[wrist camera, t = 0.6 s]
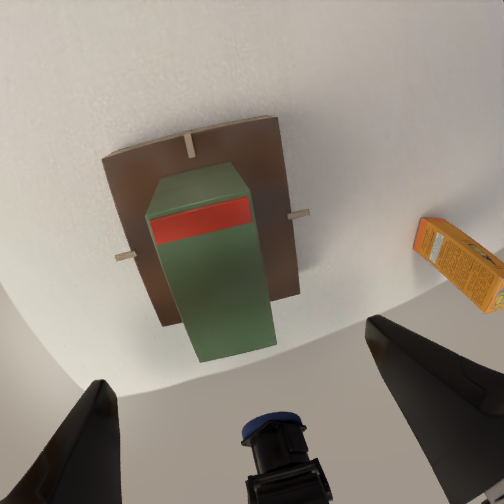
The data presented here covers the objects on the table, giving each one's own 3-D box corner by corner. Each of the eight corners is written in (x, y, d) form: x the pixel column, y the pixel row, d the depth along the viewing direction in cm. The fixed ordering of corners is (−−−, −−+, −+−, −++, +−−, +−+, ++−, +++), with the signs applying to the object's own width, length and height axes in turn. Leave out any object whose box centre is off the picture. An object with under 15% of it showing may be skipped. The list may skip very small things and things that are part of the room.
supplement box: (410, 252, 25) (483, 317, 16) (419, 215, 23) (503, 274, 15) (434, 251, 26) (505, 310, 17) (444, 217, 24) (522, 271, 15)
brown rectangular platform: (304, 273, 24) (316, 292, 21) (151, 310, 23) (148, 332, 20) (283, 111, 18) (297, 112, 16) (96, 156, 17) (82, 164, 15)
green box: (254, 281, 20) (278, 348, 15) (195, 296, 20) (200, 366, 14) (230, 161, 16) (251, 191, 11) (159, 178, 16) (143, 217, 11)
